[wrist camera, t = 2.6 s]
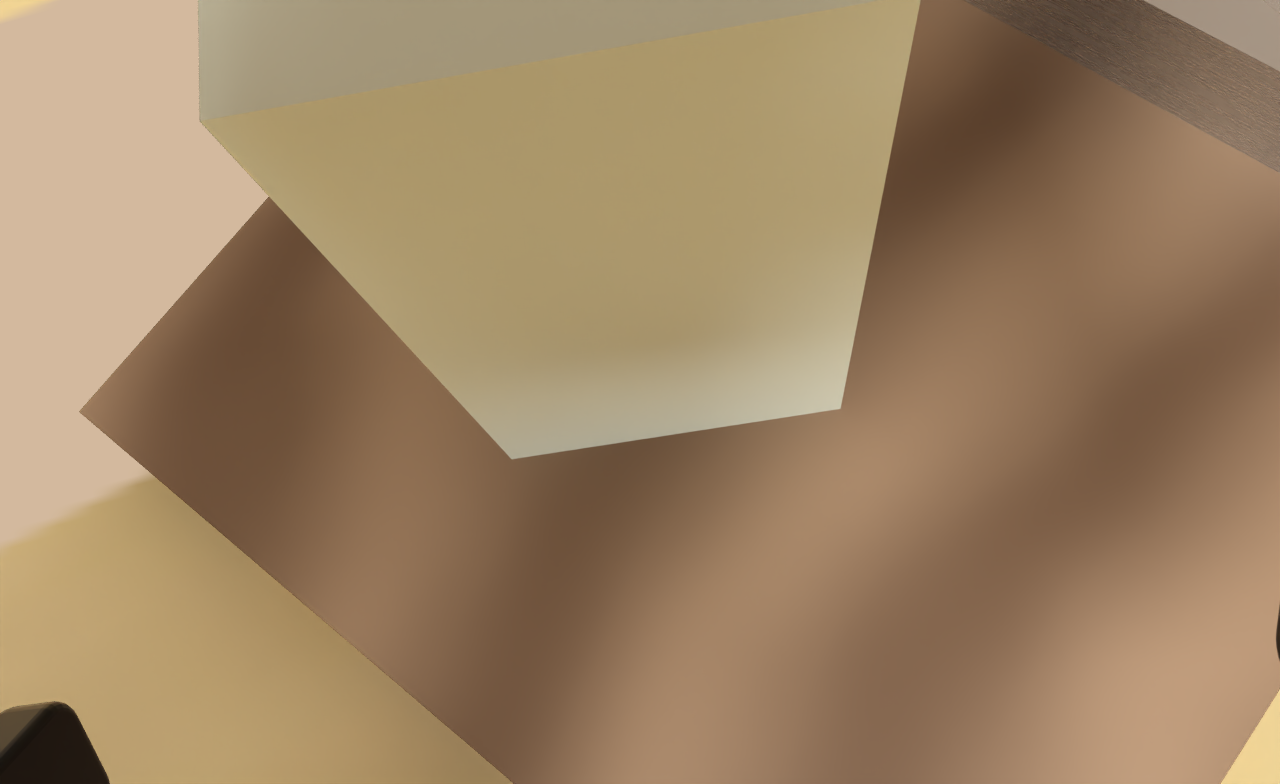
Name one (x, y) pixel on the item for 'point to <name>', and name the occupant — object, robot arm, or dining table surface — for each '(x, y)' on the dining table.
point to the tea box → (581, 191)
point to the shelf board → (812, 479)
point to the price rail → (1174, 57)
